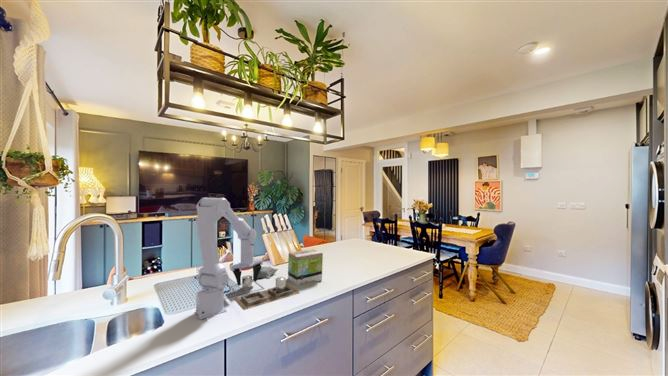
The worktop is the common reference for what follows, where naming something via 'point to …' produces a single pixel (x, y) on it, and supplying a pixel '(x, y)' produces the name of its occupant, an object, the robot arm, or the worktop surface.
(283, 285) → the disc
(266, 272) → the packaged food
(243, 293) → the tray
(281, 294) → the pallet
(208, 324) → the worktop surface
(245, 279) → the loose billet
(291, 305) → the worktop surface
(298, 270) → the tea box
